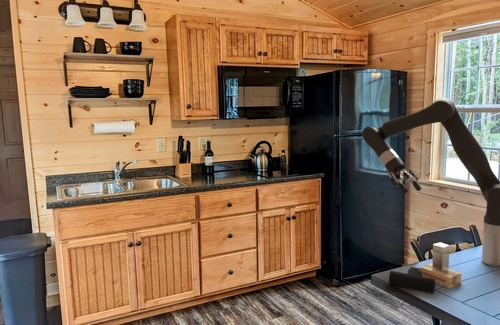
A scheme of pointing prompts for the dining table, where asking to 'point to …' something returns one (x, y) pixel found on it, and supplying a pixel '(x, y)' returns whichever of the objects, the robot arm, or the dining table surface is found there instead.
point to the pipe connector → (412, 280)
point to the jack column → (440, 257)
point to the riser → (442, 276)
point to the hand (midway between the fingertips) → (413, 191)
